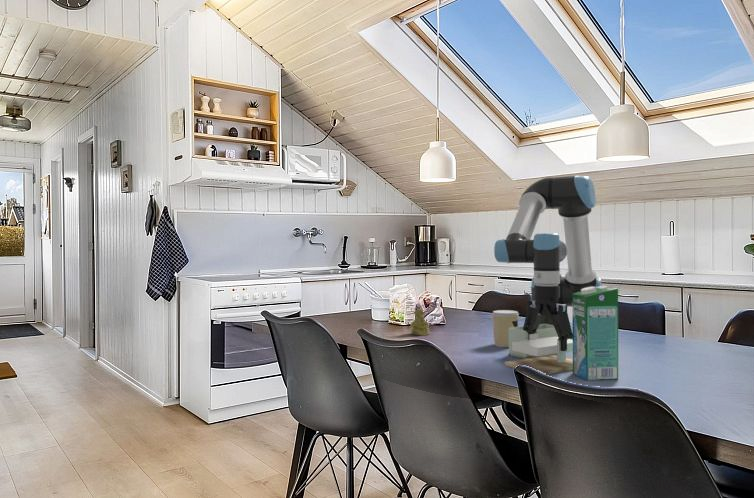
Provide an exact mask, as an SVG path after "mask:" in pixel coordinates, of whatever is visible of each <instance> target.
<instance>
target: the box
mask: <svg viewBox="0 0 754 498" xmlns="http://www.w3.org/2000/svg"><path fill="white" fill-rule="evenodd" d="M523 327H524V325H522V326H518V327H512V328H509V347H508V356H511V357H514V358H518V359H528V358H534V357H541V356H530V355H529V354H525V353H521V352H517V351H513V350H512V342H518V341H525V340H528V333H527V331H524V330H523ZM536 331H537V333H535V334H538V339H540V338H548V337H555V336H556V337H558V335H557V332H556V330H555V328H554V326H553V325H549V324H539V326H538V328H537V330H536ZM550 355H556V356H557V353H556V354H550ZM543 356H548V355H543Z"/></svg>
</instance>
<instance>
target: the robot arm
mask: <svg viewBox="0 0 754 498" xmlns="http://www.w3.org/2000/svg"><path fill="white" fill-rule="evenodd" d="M596 203H597V201H596V191H595V185H594V183H593V181H592V179H591V178H590V177H589V176H586V175H573V176H571V175H570V176H555V177H554V176H553V177H552V176H551V177H550V176H549V177H545V178H542V179H541V178H540V179H539V180H537V181H535V182H534V183H532V184H530V185H529V187H527V188H526V189H525V190H524V191H523V193H522V194H521V196H520V198H519V201H518V204H519V208H518V210H517V213H516V215H515V217H514V219H513V222H512V224H511V226H510V229H509V231H508V234H507V236H506V238H505V239H504V238H503V239H497V240H496V242H495V243H494V247H493V249H494V251H493V252H494V253H493V254H494V258H495V261H496V262H498V263H504V264H505V263H507V264H513V263H514V264H533V277H532V279H531V285H530V289H531V292H530V294H531V295H530V297H531V298H530V299H531V300H528V301H527V310H526V314H525V319H524V322H523V323H524V324H523V326H524V327H523V330H524V331H527V333H528V340H533V339H538V334H535V333H537V331H536V330H537V328H538V326H539V324H549V325H553V326H554V328H555V330H556V332H557V335H558V337H559V339H558V340H557V355H556V356H557V362H565V361H566V358H567V357H566V353H567V352H566V351H567V340H568V339H573V329H572V327H571V322H570V318H569V314H568V307H572V294H573V293H577V292H580V291H581V289H583V288H586V287H592V286H594V287H598V286H601V285H602V279H601V277H597V272H596V271H594V270H593V267H592V266H593V265H592V256H591V243H590V232H589V230H590V229H589V217H588V216H589V215H590V214H591V213H592V211H593V210H592V209H594V208H595V206H596ZM545 210H557V211H558V212H557V213H558V215H559V216H560V217H561V218H563V229H564V239H565V242H564V241H563V240H561V239H560V234H558V233H556V232H553V233H535V234H534V235H533V233H534V231H535V229H536V225H537V223H538V220H539V218H540V215H542V213H544V212H545ZM532 236H533V239H531V238H532ZM566 258H567V259H566ZM565 259H566V260H567V268H568V269H567V272H566V273H565V274H564V277H563V276H562V273H560V272H561V271H560V265H561V264H560V263H561V262H563V261H564V260H565ZM530 356H533V355H530Z"/></svg>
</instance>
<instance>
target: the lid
mask: <svg viewBox="0 0 754 498" xmlns="http://www.w3.org/2000/svg"><path fill="white" fill-rule="evenodd" d="M558 339H559V337H556V336H555V337H548V338H540V339H533V340H525V341H518V342H512V350H513V351H517V352H521V353H525V354H529V355H533V356H543V355H550V354H556V353H557V340H558ZM568 352H573V339H572V338H570V339H568V340H567V351H566V353H568Z"/></svg>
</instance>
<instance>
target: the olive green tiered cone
mask: <svg viewBox="0 0 754 498" xmlns="http://www.w3.org/2000/svg"><path fill="white" fill-rule="evenodd" d="M412 313H413V315H415V316H416V317H415V319H414V320H413V321H411V322H410V327H411V328H410V335H412V334H413V335H412V336H417V335H423V336H427V335H429V334H430V328H429V327H430V323H429V322H428V321H426V319H425V318H424V316H425V315H426V314H427V312H426V311H425V310H422V308H418V309H416V310H415V311H413V312H412Z"/></svg>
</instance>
